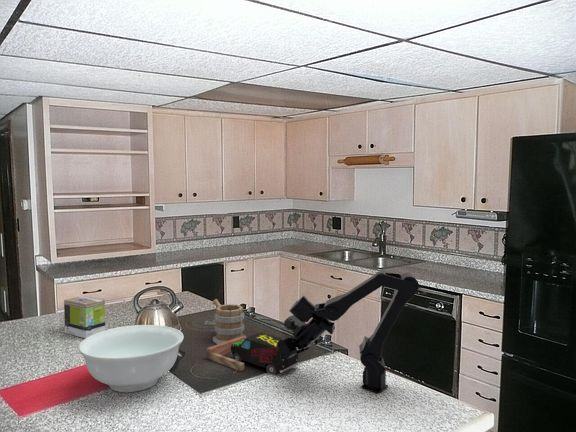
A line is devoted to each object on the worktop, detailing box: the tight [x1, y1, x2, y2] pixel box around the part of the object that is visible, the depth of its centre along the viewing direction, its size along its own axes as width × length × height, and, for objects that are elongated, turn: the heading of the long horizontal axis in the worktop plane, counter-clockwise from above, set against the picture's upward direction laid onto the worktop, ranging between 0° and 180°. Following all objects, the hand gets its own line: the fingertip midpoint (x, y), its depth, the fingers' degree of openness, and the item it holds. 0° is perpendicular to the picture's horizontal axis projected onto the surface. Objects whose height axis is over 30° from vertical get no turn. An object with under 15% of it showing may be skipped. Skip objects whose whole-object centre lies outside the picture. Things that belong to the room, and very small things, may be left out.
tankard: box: [212, 298, 247, 345], centre depth 199 cm, size 20×13×15 cm, turn 34°
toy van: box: [230, 332, 300, 375], centre depth 172 cm, size 11×25×10 cm, turn 52°
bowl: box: [78, 324, 184, 393], centre depth 156 cm, size 32×32×15 cm
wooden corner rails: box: [206, 336, 245, 372], centre depth 178 cm, size 18×18×4 cm
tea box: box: [63, 295, 106, 339], centre depth 204 cm, size 15×10×15 cm, turn 58°
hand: (286, 354), depth 163 cm, fingers closed, pressing on toy van
